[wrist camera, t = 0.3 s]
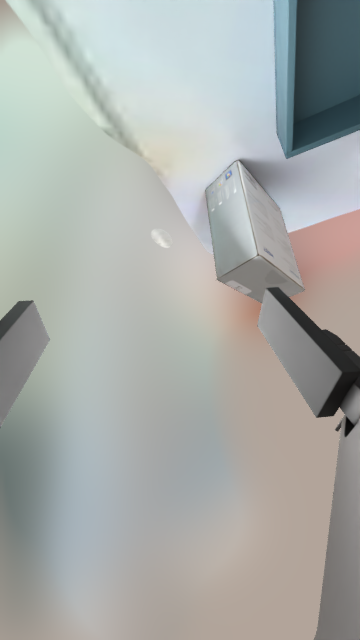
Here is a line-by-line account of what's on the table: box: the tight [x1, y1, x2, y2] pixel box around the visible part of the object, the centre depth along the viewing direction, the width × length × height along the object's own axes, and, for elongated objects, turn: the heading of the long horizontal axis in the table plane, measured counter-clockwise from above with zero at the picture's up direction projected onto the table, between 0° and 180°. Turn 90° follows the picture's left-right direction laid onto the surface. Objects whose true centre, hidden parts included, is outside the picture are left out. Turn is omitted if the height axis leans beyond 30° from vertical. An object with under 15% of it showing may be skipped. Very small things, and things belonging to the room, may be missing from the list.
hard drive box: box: [205, 160, 305, 303], centre depth 41 cm, size 16×8×20 cm, turn 48°
